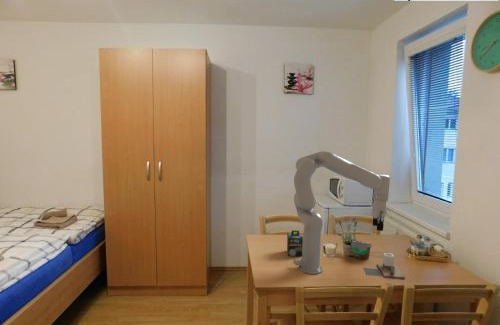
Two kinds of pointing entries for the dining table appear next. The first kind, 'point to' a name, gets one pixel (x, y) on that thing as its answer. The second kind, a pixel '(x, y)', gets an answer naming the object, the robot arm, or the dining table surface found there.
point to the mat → (372, 272)
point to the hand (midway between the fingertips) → (377, 228)
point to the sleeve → (388, 260)
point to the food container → (361, 250)
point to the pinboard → (391, 272)
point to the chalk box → (294, 244)
